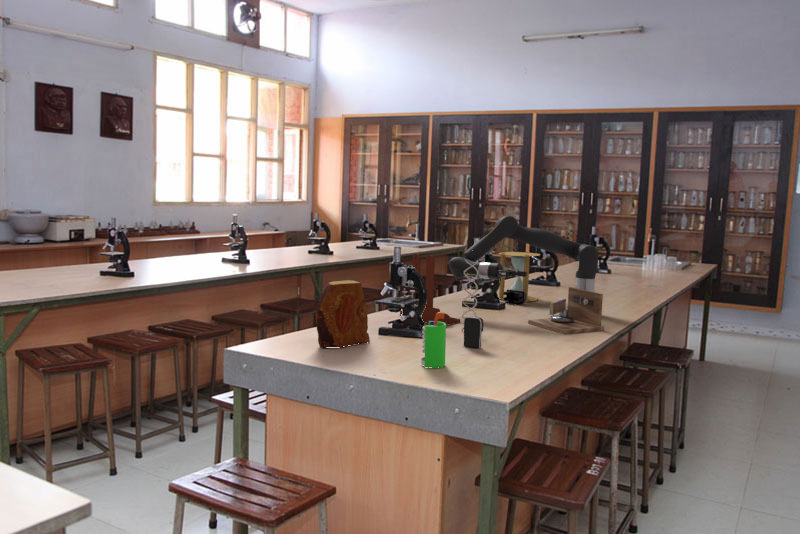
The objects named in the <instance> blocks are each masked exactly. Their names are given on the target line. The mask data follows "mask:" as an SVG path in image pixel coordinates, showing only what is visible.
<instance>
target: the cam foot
mask: <svg viewBox="0 0 800 534" xmlns="http://www.w3.org/2000/svg"><path fill="white" fill-rule="evenodd" d="M566 305H567V299H566V298H560V299H557V300H554V301H551V302H549V316H550V318H551V321H554V322H559V323H572V322H574V317H571V316H568V308H567V307H566Z"/></svg>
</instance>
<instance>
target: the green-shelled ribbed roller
mask: <svg viewBox="0 0 800 534" xmlns="http://www.w3.org/2000/svg"><path fill="white" fill-rule="evenodd" d="M444 313H445V312H442V311H440V312H438V313H437V314H436V316H435V320H434V321H429V324H427V325H423V326H422V334H423V335H421V336H422V337H421V338H422V346H421V347H422V349H421V352H422V353H423V354H424V357H422V358H420V365H421V364H422V365H424V366H425V367H432V368H437V369H439V368H438V367H443V366H445V367H446V349H447V348H446V342H447V341H446V338H447V325H446V323H444V322H438V319H440V318H441V319H444ZM425 367H424V368H425ZM443 368H444V367H443Z"/></svg>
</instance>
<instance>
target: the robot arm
mask: <svg viewBox="0 0 800 534" xmlns="http://www.w3.org/2000/svg"><path fill="white" fill-rule="evenodd" d="M505 238H506V239H510V240H515V241H519V242H522V243H524V244H527V245H529V246H531V247H532V246H533V247H535V248H537V249H540V250H542V251H545V252H550V253H554V254H559V255H564V256H567V257H569V258H570V259H574V260H575V261H577V262H578V269H577V271H576V272H575V280H574V281H575V284H574V288H577V289H582V290H587V291H592V292H595V289H596V287H595V286H596V275H597V272H598V265H599V251H598V249H597V248H596V247H595V246H593V245H591V244H586V243H580V242H576V241H572V240H568V239H566V238H564V237H563V236H561V235H559V234H557V233H554V232H552V231H549V230H546V229H544V228H543V229H542V228H537V227H527V226H522V225H520V224H519V222H518V220H517V218H515V217H514V216H512V215H505V216H502V217H501V218H499V219H498V220H497V221H496V222H495V224H494V228H493V229H492V230H491V231H489V232H488V233H487V234H486V235H484V237H482V238H480V239H479V240H478V241H477V242H475V243H473V245H471V246H470V247H469V248H467V250H465V251H464V253H463V257H462V256H455V257H452V258H451V259H450V260H449V261H448V266H449V269H450V271H451V274H452V276H453V277H454V278H455V279H463V278H465V277H466V276H465V275H464V271H465V270H466V269H467V268H469V267H470V266H471V265H469V264H468V263H467V262H466V261H465V260H467V261H468V262H469V263H470V264H472V265H473V264H475V263H476V262H477V260H478V262H477V264H476V265H474V267H475V268H476V269H477V270H478V276H477V271H476V270H475V268H473V267H471V268H469V269H468V270H467V271H466V272H465V274H475V275H469V277H473V278H475V277H476V276H477V278H481V279H484V280H495V281H500V279H501V277H505V278H514V277H517V278H518V276H520V278H523V277H526V276H527V272H525V271H519V270H517V269H515V268H514V267H512V268H510V267H505V268H503V267H502V265H501V264H500V262H489V261H487V262H485V261H484V262H481V261H480V259H482V258H483V257H484V256H486V254H487V253H488V252H489V251H490V250H491V249H493V248H494V247H495V246H496V245H497V244H498V243H500V242H501V241H502V240H504V239H505ZM472 250H473V251H472Z"/></svg>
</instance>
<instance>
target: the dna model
mask: <svg viewBox="0 0 800 534" xmlns="http://www.w3.org/2000/svg"><path fill="white" fill-rule="evenodd" d="M465 261H466V262H467V263H468V264H469V265H471V266H470V267H469V268H471V267H473V268H475V267H474V265H476V264H477V262H479V260H477V262H476V263H475V264H473V265H472V264H470V263H469V262H468V261H467V260H465ZM469 268H467V269H466V270H465V271H464V275H465V277H466V279H468V280H469V281H468V282H466V283H464V285H463V286H462V288H463V291H464V292H466V293H467V294H468V296H466V297H464V298H463V300H462V304H463V305H464V306H465V307H467V308H468V310H466V311H465V312H463V314H462V315H461V317H462V319H463V320H465V318H466V316H465V315H466V314H467V313H469V312H473V314H474V317H478V315H477V313H476V311H475V310H474V309H475V308H476V307H477V306H478V298H476V296H475V294H476V293H477V291H479V286H478V284H477V283H476V282H475V281H474V280H476V279H477V278H478V277H477V276H478V270H477V269H476V268H475V270H476V271H477V276H476V277H473V278H471V277H470V275H475V274H465V272H466V271H467V270H468V269H469ZM470 283H474V285H475V288H470V290H472V291H473V290H474V292H473V293H471V292H470V291H468V287H467V288H466V286H467V285H468V284H470ZM470 297H472V298H473V299H474V300H475V303H474V302H465V301H466V300H467V299H468V298H470ZM468 304H470V305H473V306H472V307H470V306H469V305H468ZM462 331H463V332H464V326H463V327H462V328H461V332H462Z"/></svg>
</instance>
